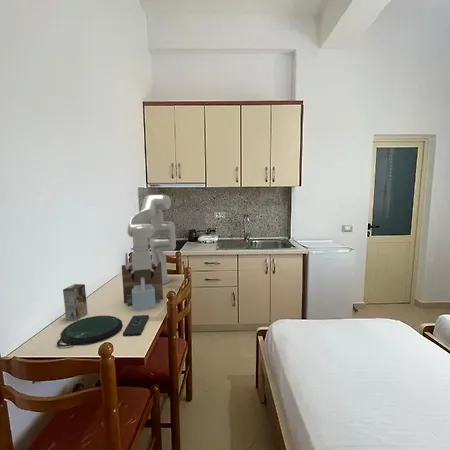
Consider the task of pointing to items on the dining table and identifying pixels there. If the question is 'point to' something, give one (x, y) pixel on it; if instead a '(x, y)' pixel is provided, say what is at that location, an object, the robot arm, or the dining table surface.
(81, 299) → the coffee box
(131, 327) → the smart home device
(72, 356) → the dining table surface
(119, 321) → the dark green flat disc
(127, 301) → the wall board
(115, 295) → the dining table surface
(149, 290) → the block with top knob
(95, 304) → the dining table surface
